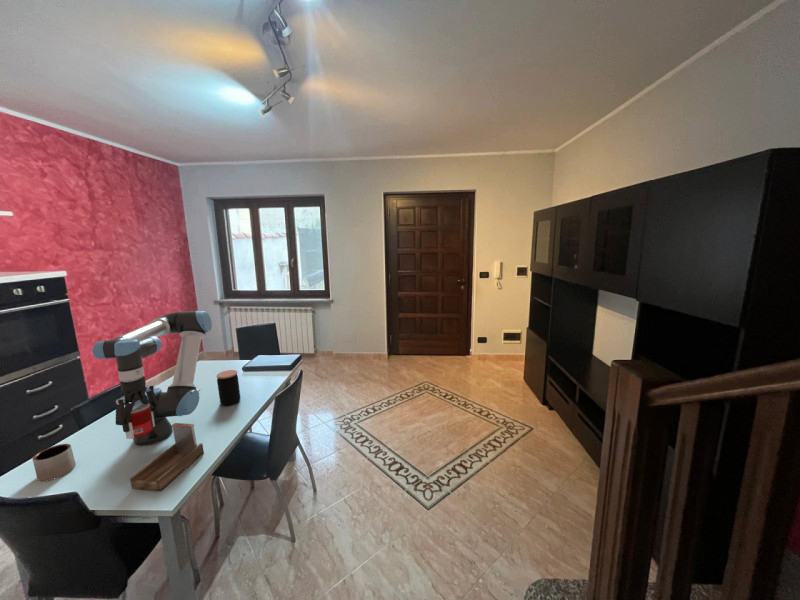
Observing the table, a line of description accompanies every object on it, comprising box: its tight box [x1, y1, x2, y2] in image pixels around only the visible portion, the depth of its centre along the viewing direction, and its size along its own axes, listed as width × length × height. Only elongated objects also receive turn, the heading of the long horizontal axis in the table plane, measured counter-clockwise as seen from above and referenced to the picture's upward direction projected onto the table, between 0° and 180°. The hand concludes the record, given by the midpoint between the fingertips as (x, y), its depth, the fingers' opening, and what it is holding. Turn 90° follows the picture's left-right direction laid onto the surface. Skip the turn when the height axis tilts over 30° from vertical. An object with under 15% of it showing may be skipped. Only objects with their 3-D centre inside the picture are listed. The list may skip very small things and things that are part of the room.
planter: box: [32, 443, 77, 482], centre depth 129 cm, size 11×11×10 cm
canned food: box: [129, 403, 153, 438], centre depth 125 cm, size 8×8×11 cm
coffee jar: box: [216, 369, 241, 407], centre depth 183 cm, size 11×11×18 cm
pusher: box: [171, 422, 198, 454], centre depth 137 cm, size 9×2×14 cm, turn 83°
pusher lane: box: [129, 442, 205, 493], centre depth 129 cm, size 12×22×5 cm, turn 173°
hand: (141, 431), depth 126 cm, fingers closed on canned food, 8 cm apart
